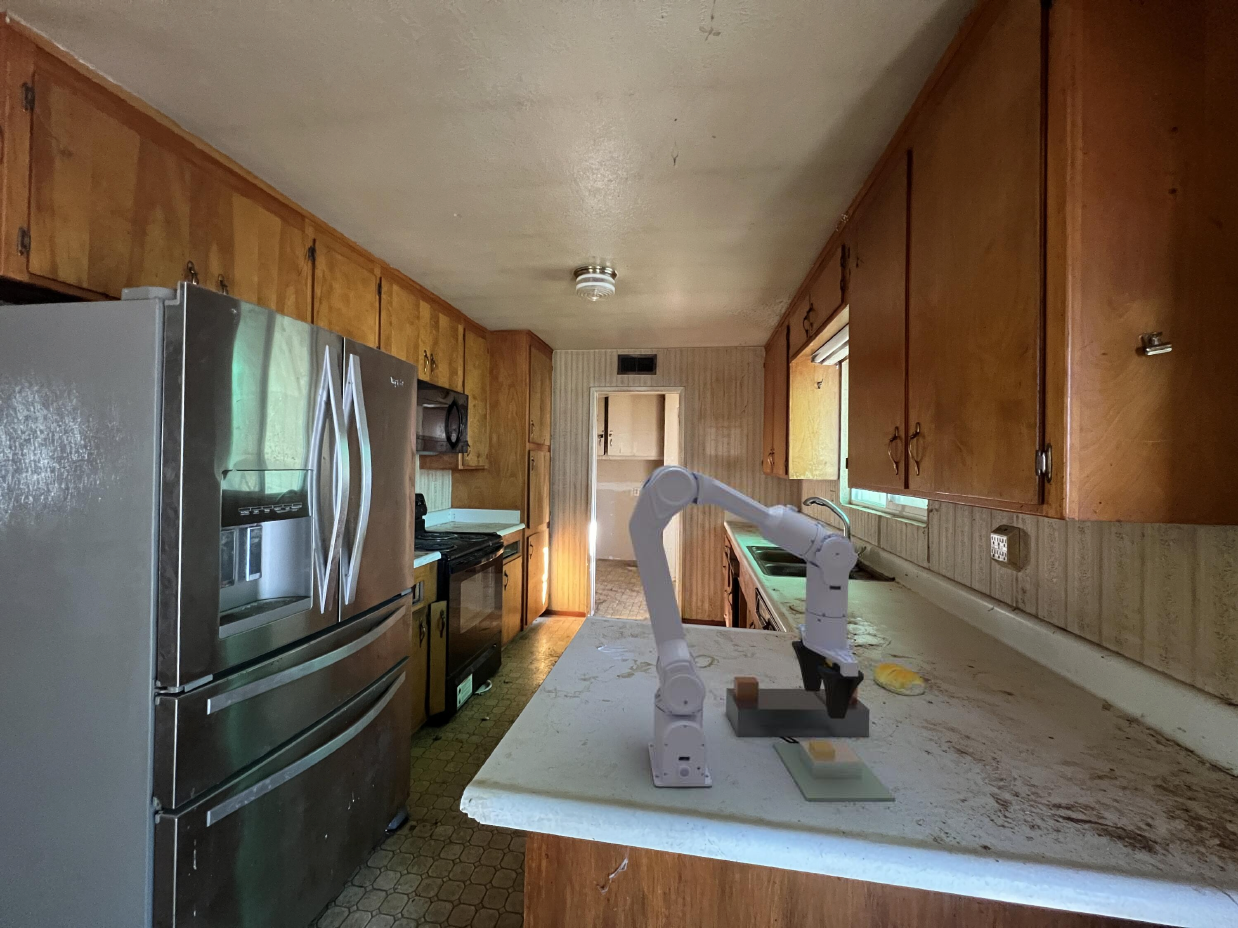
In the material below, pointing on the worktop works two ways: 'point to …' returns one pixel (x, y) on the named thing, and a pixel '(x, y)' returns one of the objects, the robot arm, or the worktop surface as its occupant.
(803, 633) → the robot arm
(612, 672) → the worktop surface
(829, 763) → the lever cap
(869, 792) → the rubber mat
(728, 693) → the hand plane
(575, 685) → the worktop surface
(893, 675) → the bread roll
